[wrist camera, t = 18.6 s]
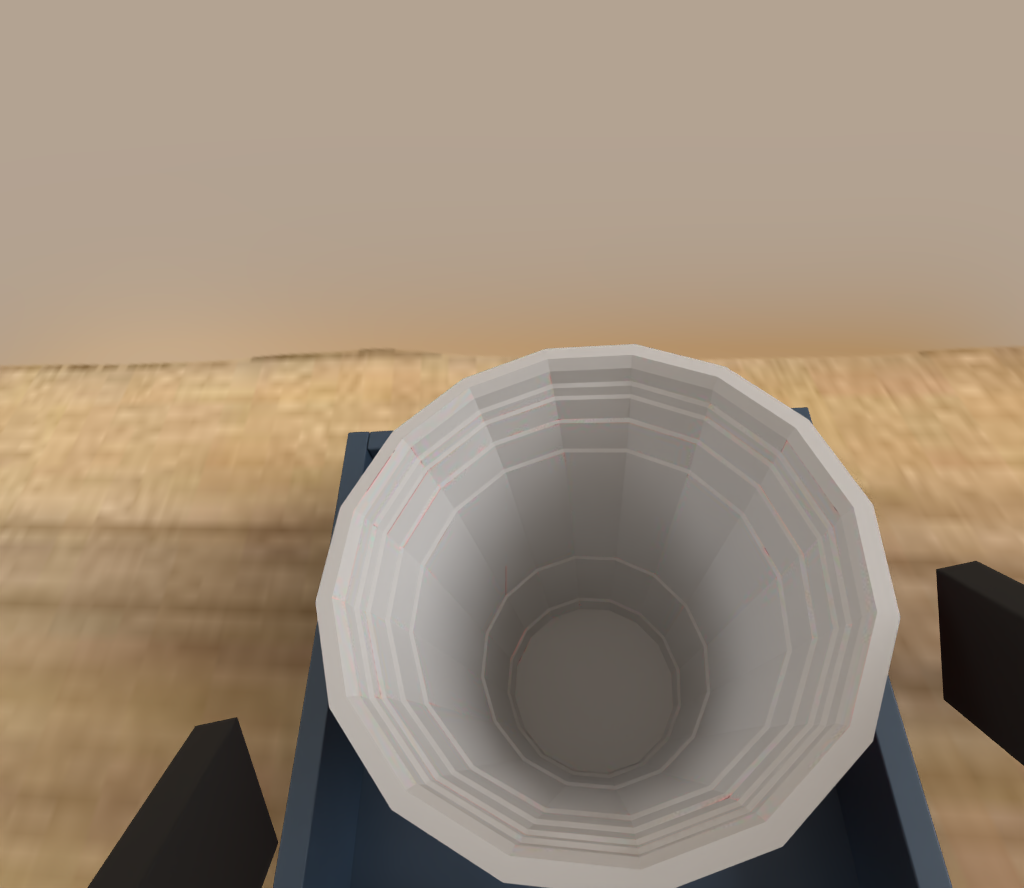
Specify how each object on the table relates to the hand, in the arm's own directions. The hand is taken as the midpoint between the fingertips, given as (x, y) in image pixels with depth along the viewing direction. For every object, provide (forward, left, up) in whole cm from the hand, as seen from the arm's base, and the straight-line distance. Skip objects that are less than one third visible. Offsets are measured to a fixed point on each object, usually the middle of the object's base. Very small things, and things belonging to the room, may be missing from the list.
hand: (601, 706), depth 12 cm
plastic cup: (0, +3, -11) cm, 11 cm away
